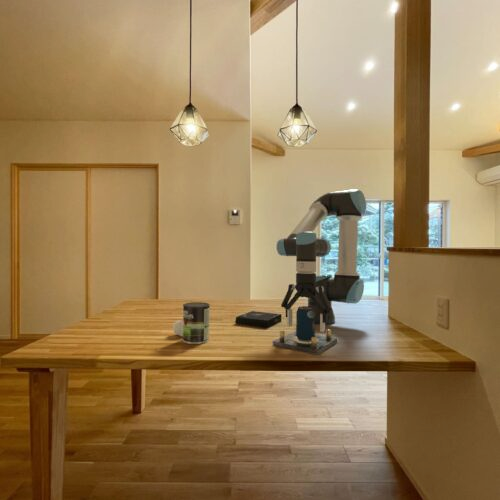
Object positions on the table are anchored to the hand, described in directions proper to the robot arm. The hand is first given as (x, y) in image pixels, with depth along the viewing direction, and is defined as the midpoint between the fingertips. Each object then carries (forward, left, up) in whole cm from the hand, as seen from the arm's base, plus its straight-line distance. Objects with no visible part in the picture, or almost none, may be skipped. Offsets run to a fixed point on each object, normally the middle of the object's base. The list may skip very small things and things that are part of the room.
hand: (305, 328), depth 120 cm
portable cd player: (-18, -34, -6) cm, 39 cm away
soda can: (0, 0, -4) cm, 4 cm away
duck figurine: (+18, -45, -6) cm, 49 cm away
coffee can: (+22, -36, -6) cm, 43 cm away
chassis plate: (0, 0, -6) cm, 6 cm away
